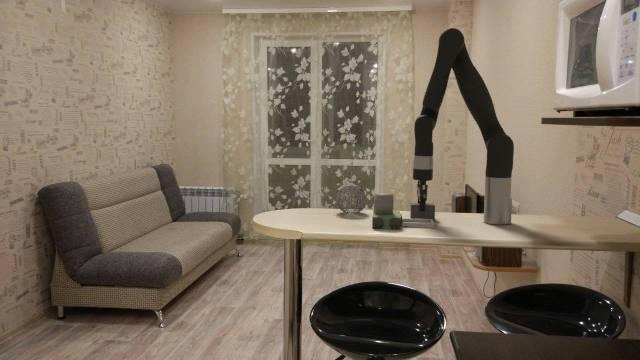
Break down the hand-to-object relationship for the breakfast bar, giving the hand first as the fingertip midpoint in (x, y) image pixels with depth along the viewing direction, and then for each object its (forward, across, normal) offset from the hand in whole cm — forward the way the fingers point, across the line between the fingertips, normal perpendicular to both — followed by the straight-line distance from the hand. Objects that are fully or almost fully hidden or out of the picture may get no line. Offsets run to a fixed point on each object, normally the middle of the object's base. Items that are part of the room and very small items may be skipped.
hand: (421, 209), depth 205 cm
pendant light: (+5, +10, +27) cm, 30 cm away
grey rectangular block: (+4, 0, -1) cm, 4 cm away
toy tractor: (+4, -12, +8) cm, 15 cm away
